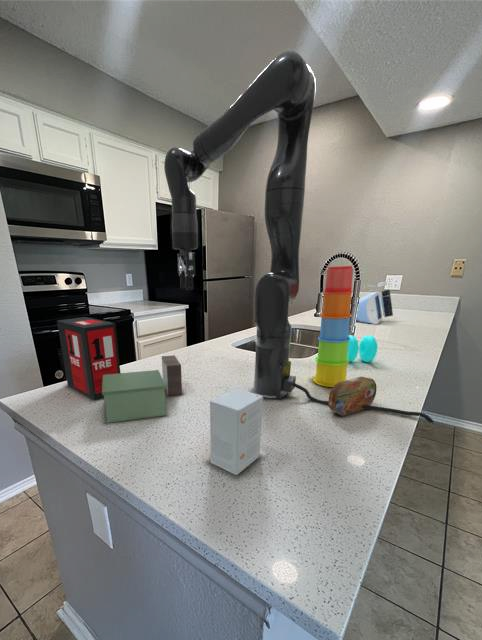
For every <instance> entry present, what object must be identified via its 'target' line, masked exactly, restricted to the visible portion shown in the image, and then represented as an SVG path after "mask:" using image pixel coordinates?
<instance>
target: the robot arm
mask: <svg viewBox="0 0 482 640" xmlns="http://www.w3.org/2000/svg"><path fill="white" fill-rule="evenodd" d="M316 90H317V85H316V77H315V75H314V72H313V70H312V69H311V67H310V66H309V65H308V64H307V62H306V61H305V59H304V58H303V56H302V55H300V53H298V52H297V51H294V50H286V51H284V52H282V53H280V54H279V55H277V56H276V57H275V58H274V59H273V60H271V62H270V63H269V64H268V65H267V66H266V67H265V68H264V69H263V70H262V71H261V72H260V74H259V75H258V76H257V77H256V78H255V80H254V81H252V83H251V84H250V85H249V86H248V87H247V88H246V89H245V90H244V92H243V93H242V94H241V95H240V96H239V97H238V98H237V99H236V100H235V102H234V103H232V105H231V106H230V107H228V109H227V110H225V112H224V113H222V114H221V116H219V117H217V119H215V121H213V122H212V123H210V124H209V125H208V126H207V127H206V128H204V129H202V131H201V132H199V133H198V134H197V135H196V136H195V137H194V139H193V141H192V149H193V150H192V151H188V150H185V149H184V148H180V147H176V146H174V147H171V148H170V149H169V150H168V151H167V152H166V154H165V157H164V162H163V168H164V170H163V171H164V175H165V179H166V184H167V187H168V191H169V194H170V197H171V198H170V199H171V239H172V242H171V243H172V249H173V250H179V253H177V255H176V257H177V274H178V276H179V288H180V289H185V290H186V291H193V290H194V278H195V275H196V253H195V252H194V251H192V250H197V249H198V248H199V237H198V235H199V231H198V229H199V228H198V227H199V226H198V217H197V196H196V194H195V192H194V191H193V190H191V189H190V186H189V184H188V183H193V182H195V181H197V180H198V179H200V178H201V177H202V175H203V174H204V173H205V172H206V171H207V170H208V169H209V168H210V166H211V164H212V163H214V162H216V161H217V160H219V159H221V158H222V157H223V156H224V155H226V154H227V153H228V152H230V151H231V150H232V149H233V148H234V147H235V146H236V145H237V144H238V142H239V141H240V139H241V138H242V136H243V135H244V133H245V132H246V130H247V129H248V128H249V127H250V126H251V125H252V124H253V123H254V122H255V121H257V120H258V119H259V118H261V117H263V116H264V115H266V114H268V113H270V112H272V111H274V112H276V113H277V144H276V150H275V155H274V158H273V161H272V163H271V166H270V169H269V171H268V174H267V178H266V182H265V190H264V210H263V211H264V221H265V227H266V231H267V236H268V240H269V244H270V251H271V261H270V271H269V272H267V273H266V274H264V275H262V276H261V277H260V279H259V280H258V281H257V284H256V287H255V291H254V324H255V327H256V338H255V340H256V342H255V359H254V375H253V376H254V377H253V390H252V391H253V392H252V393H255V394H258V395H261V396H263V399H277V400H278V399H279V400H282V398H283V397H285V396H286V395H287V394H289V393H291V394H292V392H293V390H294V389H295V388H296V389H298V390H301V391H302V392H304V394H305V395H306V397H307V399H309V400H310V401H312V402H314V403H318V404H322V405H325V406H327V405H328V406H329V402H328V401H329V400H322V399H318V398H315V397H314V396H312V395H311V394H310V392H309V390H308V389H307V388H305V387H304V386H303V385H300V384H298V383H296V381H297V376H296V375H291V369H292V361H291V360H290V351H291V340H292V332H293V331H292V330H293V327H292V324H291V323H290V322H289V308H290V307H289V306H291V305H292V304H293V303H294V302H295V301H296V300H297V298H298V296H299V292H300V245H301V236H302V225H303V216H304V215H303V213H304V207H305V193H306V176H307V175H306V174H307V160H308V159H307V158H308V144H309V143H308V142H309V135H310V127H311V124H312V123H311V121H312V116H313V110H314V104H315V98H316V92H317V91H316ZM362 408H364V410H372V411H379V412H387V413H393V414H399V415H402V416H403V415H404V416H415V417H420V418H423V419H425V420H426V422H428V423H430V424H434V423H435V422H434V420H433V419H432V418H431V417H430V416H429V415H428V414H426V413H423V412H419V411H407V410H402V409H396V408H389V407H383V406H376V405H375V406H374V405H370V406H369V405H363V406H362ZM419 415H420V416H419Z"/></svg>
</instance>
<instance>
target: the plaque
mask: <svg viewBox="0 0 482 640" xmlns="http://www.w3.org/2000/svg"><path fill="white" fill-rule="evenodd" d="M161 369H162V371H161V372H162V379H163V381H164V383H165V386H166V389H165V391H166V394H167V396H168V397H171V396H172V397H173V396H181V395H183V383H182V382H183V381H182V380H183V379H182V363H180V361H179V359H178V358H177V357H176V355H175V354H174V355H163V356H161Z"/></svg>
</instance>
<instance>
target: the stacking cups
mask: <svg viewBox="0 0 482 640" xmlns="http://www.w3.org/2000/svg"><path fill="white" fill-rule="evenodd" d="M353 274H354V268H353V265H342V266H341V265H340V266H328V267H327V269H326V274H325V287H324V291H322V293H323V301H322V303H323V304H322V311H321V314H319V316H320V317H321V319H320V329H319V330H320V331H319V336H318V337H317V340H318V350H317V357H315V362H316V368H315V376H314V377H313V378H312V381H313V382H314V384H317V385H318V386H322V387H326V388H333V387H334V385H336V384H337V383H339V382H341V381H345V380H348V379H347V370H348V364H349V363H350V362H349V359H348V358H347V354H348V342H349V340H350V337H348V336H349V335H350V323H351V318H350V317H352V315H351V314H350V307H351V305H352V294H353V293H354V290H352V289H353V288H352V287H353V278H354V277H353Z"/></svg>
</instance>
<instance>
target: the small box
mask: <svg viewBox="0 0 482 640" xmlns="http://www.w3.org/2000/svg"><path fill="white" fill-rule="evenodd" d="M263 405H264V397H263V396H261V395H258V394H255V393H254V392H251V391H247V390H243V389H240V388H234V389H232V390H230V391H228V392H225V393H223V394H221V395H219V396H218V397H216V398H214V399H212V400H210V401H209V423H210V425H209V426H210V427H209V428H210V429H209V430H210V431H209V433H210V435H209V436H210V437H209V438H210V440H209V441H210V443H209V444H210V463H211V464H212V465H214V466H216V467H218V468H221V469H222V470H225V471H227V472H229V473H230V474H233V475H235V476H238V475H239V474H240V473H241V472H243V471H244V470H246V468H247V467H249V466H250V465H251V464H252V463H253V462H255V461H256V460H257V459H258V458H259V457H260V456H261V442H262V441H261V438H262V422H263V407H264V406H263Z"/></svg>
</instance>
